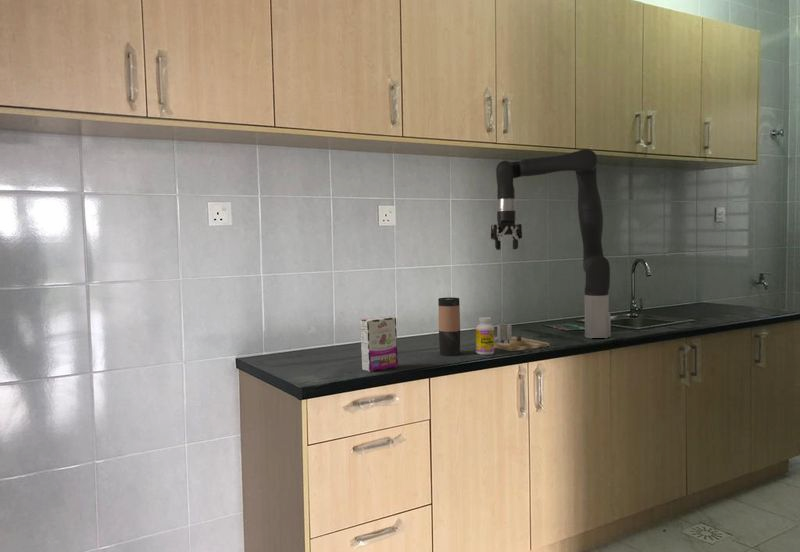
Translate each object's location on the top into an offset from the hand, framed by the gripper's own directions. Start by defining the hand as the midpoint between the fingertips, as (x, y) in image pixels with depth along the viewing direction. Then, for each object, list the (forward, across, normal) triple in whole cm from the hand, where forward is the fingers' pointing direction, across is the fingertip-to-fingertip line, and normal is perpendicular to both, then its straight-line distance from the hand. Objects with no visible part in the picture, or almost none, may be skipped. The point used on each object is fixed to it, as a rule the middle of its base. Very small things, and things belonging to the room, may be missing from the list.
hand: (506, 249), depth 264 cm
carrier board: (+36, +12, +19) cm, 42 cm away
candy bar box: (+36, +74, +30) cm, 88 cm away
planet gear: (+35, +14, +16) cm, 41 cm away
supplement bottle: (+36, +31, +28) cm, 55 cm away
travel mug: (+36, +42, +22) cm, 59 cm away
